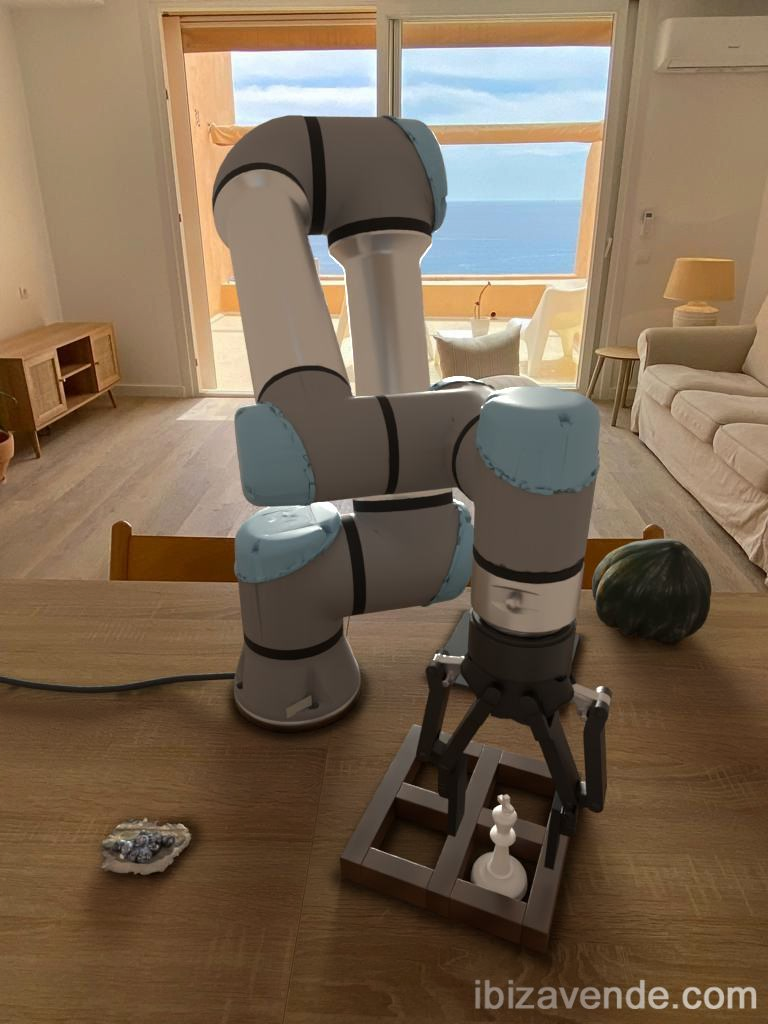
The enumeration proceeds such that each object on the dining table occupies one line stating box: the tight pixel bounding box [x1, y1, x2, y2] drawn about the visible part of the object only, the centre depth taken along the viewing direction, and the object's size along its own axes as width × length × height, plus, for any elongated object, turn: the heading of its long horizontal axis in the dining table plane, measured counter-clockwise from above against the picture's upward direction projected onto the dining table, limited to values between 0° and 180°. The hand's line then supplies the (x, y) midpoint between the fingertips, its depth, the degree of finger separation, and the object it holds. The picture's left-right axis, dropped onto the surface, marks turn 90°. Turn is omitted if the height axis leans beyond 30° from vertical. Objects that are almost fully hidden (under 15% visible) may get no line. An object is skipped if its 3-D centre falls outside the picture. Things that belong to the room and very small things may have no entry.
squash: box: [591, 538, 712, 646], centre depth 93 cm, size 14×15×15 cm
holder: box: [339, 724, 583, 955], centre depth 65 cm, size 18×18×2 cm
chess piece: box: [470, 793, 529, 901], centre depth 59 cm, size 5×5×10 cm
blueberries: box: [100, 817, 192, 876], centre depth 64 cm, size 7×8×2 cm
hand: (502, 838), depth 59 cm, fingers open, 8 cm apart
